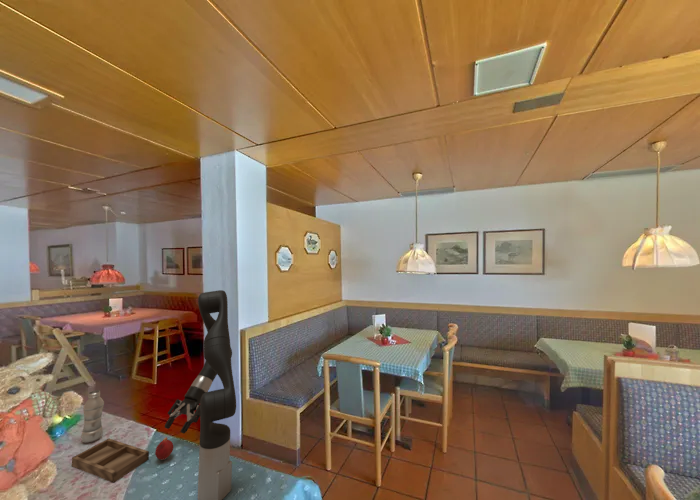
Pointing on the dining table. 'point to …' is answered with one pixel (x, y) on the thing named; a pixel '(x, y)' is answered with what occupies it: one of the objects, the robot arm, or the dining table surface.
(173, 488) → the dining table surface
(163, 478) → the dining table surface
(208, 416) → the robot arm
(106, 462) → the walnut tray
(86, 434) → the plastic bottle
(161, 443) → the pomegranate
